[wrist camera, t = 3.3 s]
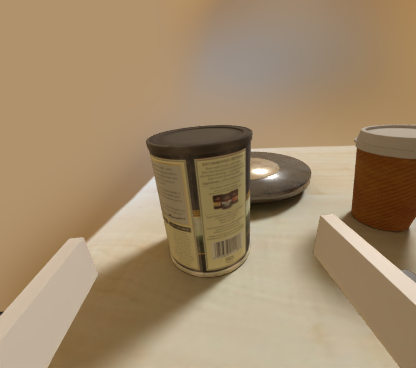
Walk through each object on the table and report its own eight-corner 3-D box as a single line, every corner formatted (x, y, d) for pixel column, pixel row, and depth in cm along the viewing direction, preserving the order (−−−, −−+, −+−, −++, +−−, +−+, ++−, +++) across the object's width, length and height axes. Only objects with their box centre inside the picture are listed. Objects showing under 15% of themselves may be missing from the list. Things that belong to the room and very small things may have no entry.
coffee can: (204, 213, 32) (195, 123, 26) (264, 237, 26) (270, 126, 20) (151, 252, 25) (123, 139, 19) (218, 297, 19) (206, 151, 13)
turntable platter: (279, 153, 52) (280, 146, 52) (340, 195, 30) (343, 182, 30) (189, 161, 52) (188, 154, 51) (186, 209, 30) (184, 197, 29)
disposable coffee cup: (419, 252, 22) (471, 143, 17) (326, 217, 29) (344, 133, 24) (433, 217, 27) (475, 127, 22) (352, 195, 34) (370, 122, 29)
